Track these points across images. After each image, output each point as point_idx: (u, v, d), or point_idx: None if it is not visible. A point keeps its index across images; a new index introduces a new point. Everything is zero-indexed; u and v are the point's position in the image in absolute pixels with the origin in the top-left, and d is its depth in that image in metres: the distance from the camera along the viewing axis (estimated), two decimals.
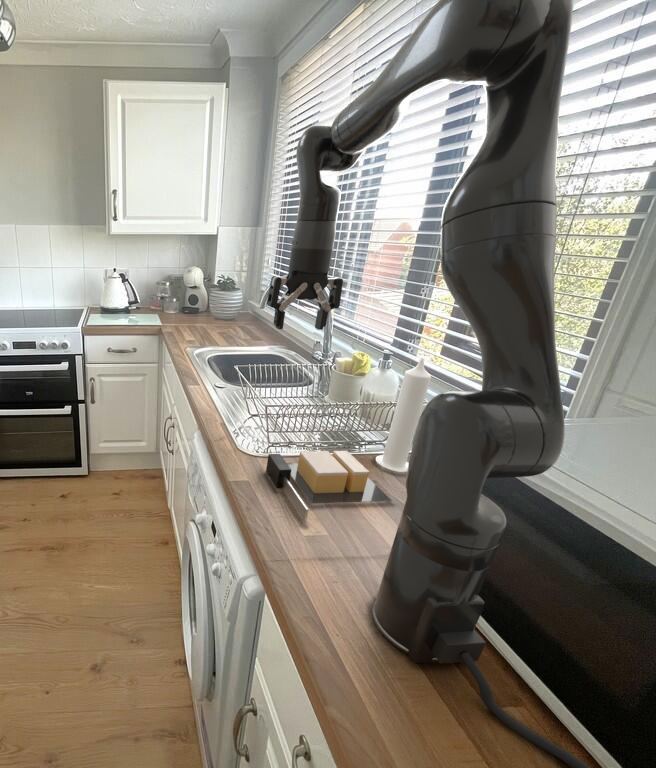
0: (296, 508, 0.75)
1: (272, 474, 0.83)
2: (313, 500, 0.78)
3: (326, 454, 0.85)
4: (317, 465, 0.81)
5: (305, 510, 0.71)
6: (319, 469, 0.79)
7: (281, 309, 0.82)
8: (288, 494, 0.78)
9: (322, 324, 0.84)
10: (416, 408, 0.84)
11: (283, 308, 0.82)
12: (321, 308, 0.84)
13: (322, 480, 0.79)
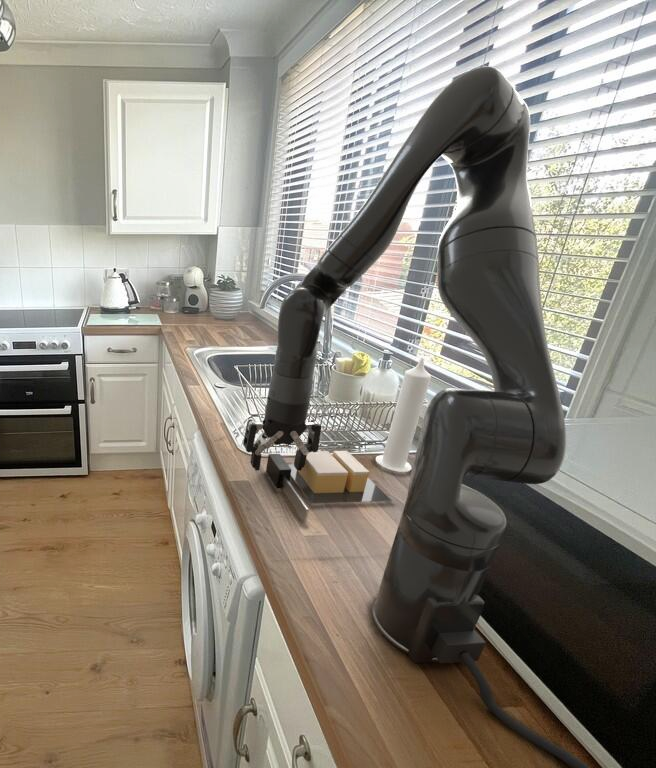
0: (296, 508, 0.75)
1: (272, 474, 0.83)
2: (313, 500, 0.78)
3: (326, 454, 0.85)
4: (317, 465, 0.81)
5: (305, 510, 0.71)
6: (319, 469, 0.79)
7: None
8: (288, 494, 0.78)
9: None
10: (416, 408, 0.84)
11: None
12: None
13: (322, 480, 0.79)
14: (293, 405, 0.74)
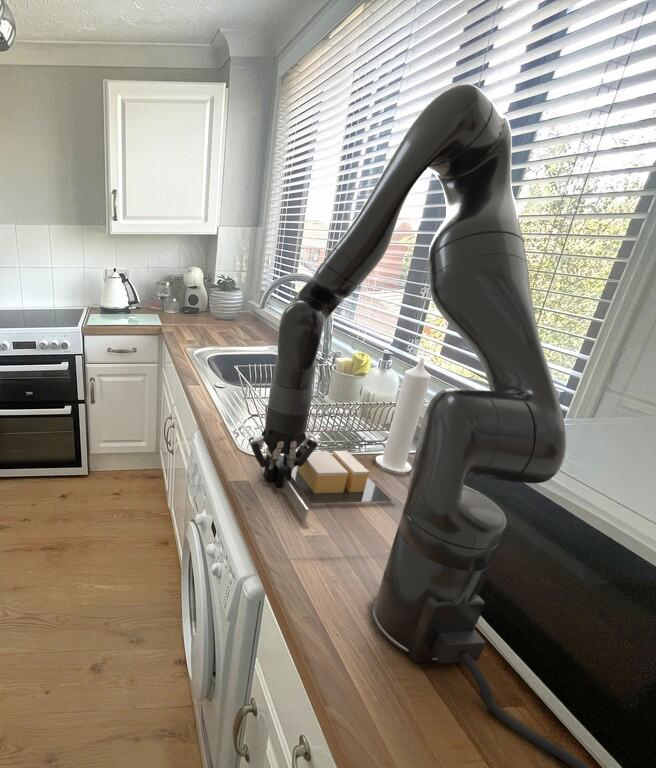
0: (296, 508, 0.75)
1: None
2: (313, 500, 0.78)
3: (326, 454, 0.85)
4: (317, 465, 0.81)
5: (305, 510, 0.71)
6: (319, 469, 0.79)
7: None
8: (288, 494, 0.78)
9: None
10: (416, 408, 0.84)
11: None
12: None
13: (322, 480, 0.79)
14: (293, 416, 0.75)
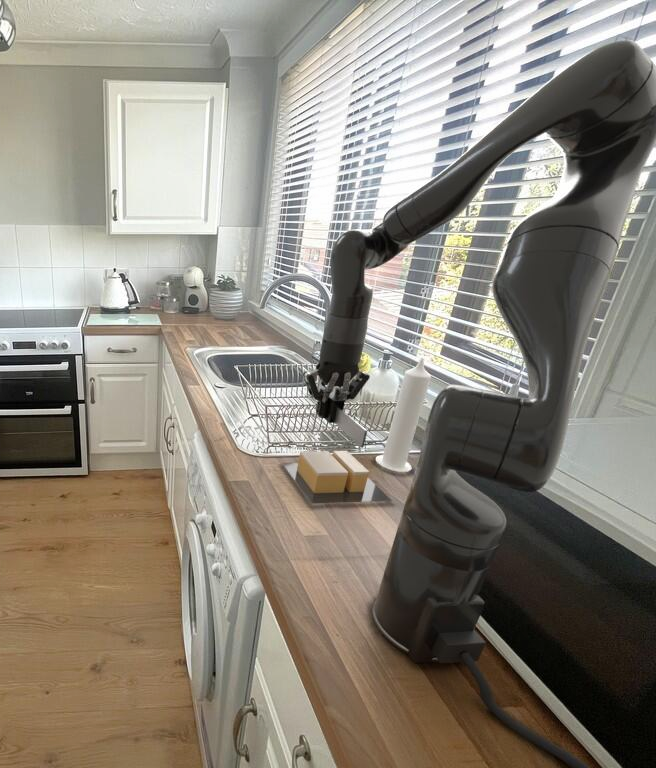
0: (353, 433, 0.78)
1: None
2: (313, 500, 0.78)
3: (326, 454, 0.85)
4: (317, 465, 0.81)
5: (364, 431, 0.75)
6: (319, 469, 0.79)
7: None
8: (343, 423, 0.82)
9: None
10: (416, 408, 0.84)
11: None
12: None
13: (322, 480, 0.79)
14: (350, 345, 0.78)
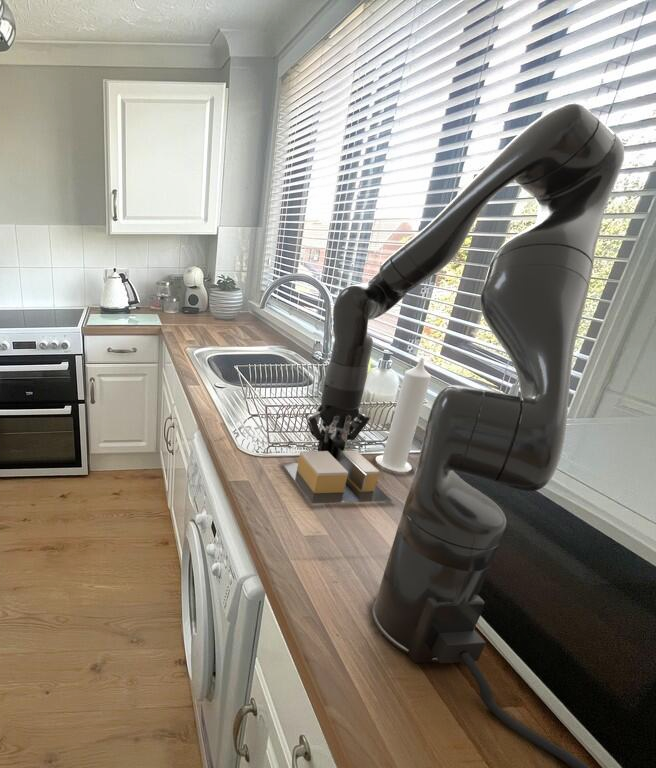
0: (353, 475, 0.82)
1: None
2: (313, 500, 0.78)
3: (326, 454, 0.85)
4: (317, 465, 0.81)
5: (364, 476, 0.79)
6: (319, 469, 0.79)
7: None
8: (343, 464, 0.85)
9: None
10: (416, 408, 0.84)
11: None
12: None
13: (322, 480, 0.79)
14: (351, 391, 0.82)
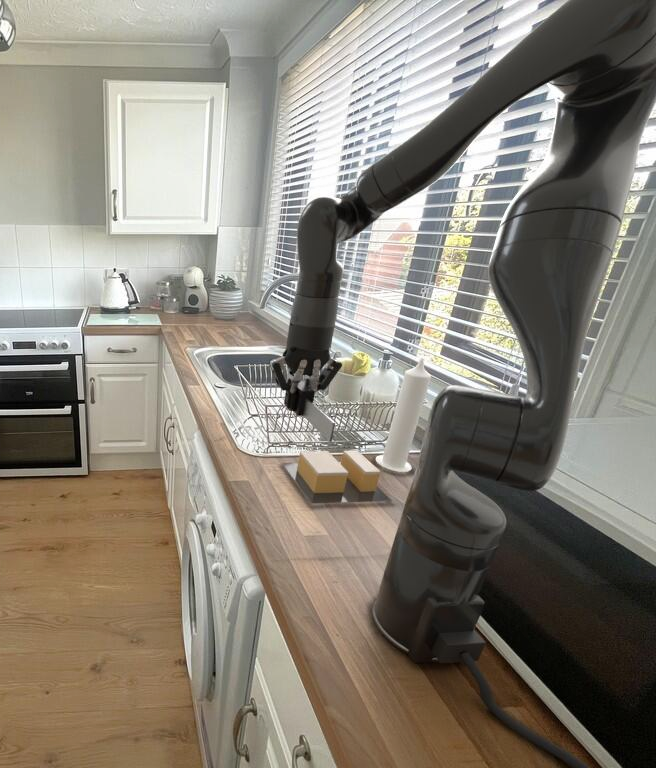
0: (321, 426, 0.70)
1: None
2: (313, 500, 0.78)
3: (326, 454, 0.85)
4: (317, 465, 0.81)
5: (332, 424, 0.67)
6: (319, 469, 0.79)
7: None
8: (311, 415, 0.73)
9: None
10: (416, 408, 0.84)
11: None
12: None
13: (322, 480, 0.79)
14: (318, 328, 0.70)
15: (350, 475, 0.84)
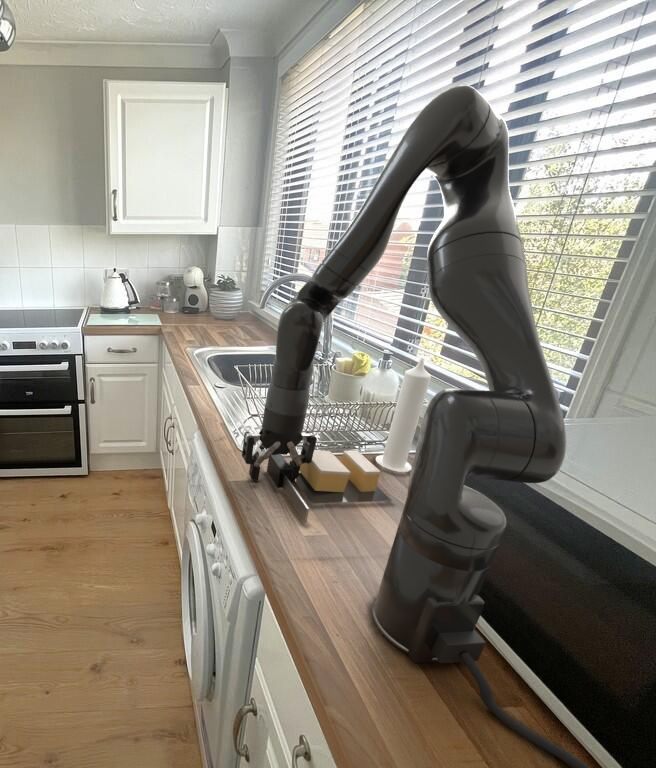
0: (297, 507, 0.75)
1: (273, 473, 0.83)
2: (313, 500, 0.78)
3: (328, 454, 0.85)
4: (320, 463, 0.81)
5: (306, 509, 0.72)
6: (322, 467, 0.79)
7: None
8: (289, 494, 0.78)
9: None
10: (416, 408, 0.84)
11: None
12: None
13: (324, 478, 0.79)
14: (291, 416, 0.75)
15: (350, 475, 0.84)
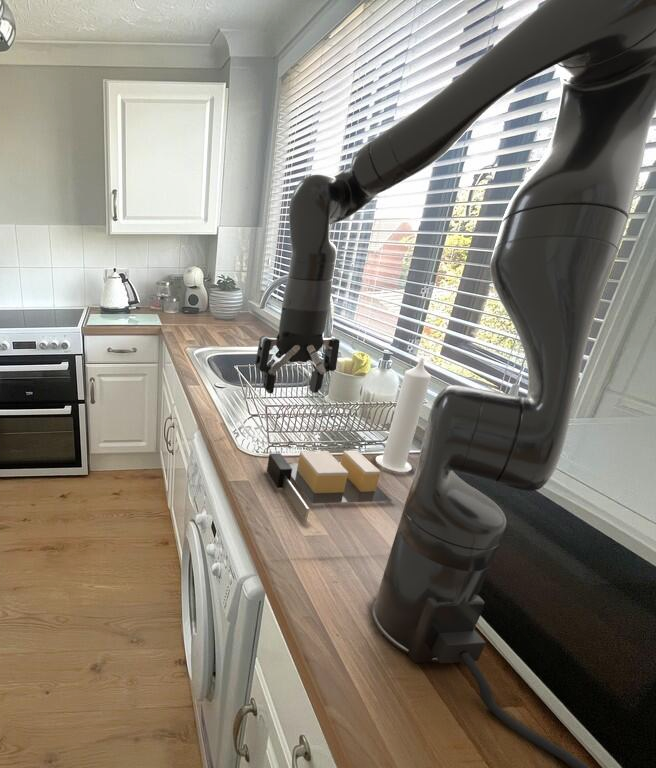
0: (297, 507, 0.75)
1: (273, 473, 0.83)
2: (313, 500, 0.78)
3: (326, 454, 0.85)
4: (317, 465, 0.81)
5: (306, 509, 0.72)
6: (319, 469, 0.79)
7: None
8: (289, 494, 0.78)
9: None
10: (416, 408, 0.84)
11: None
12: None
13: (322, 480, 0.79)
14: (311, 312, 0.68)
15: (350, 475, 0.84)
